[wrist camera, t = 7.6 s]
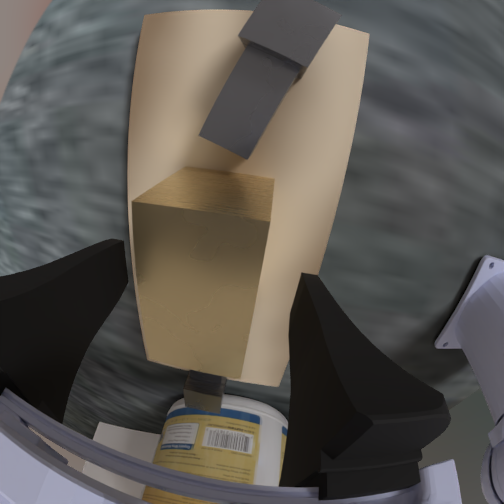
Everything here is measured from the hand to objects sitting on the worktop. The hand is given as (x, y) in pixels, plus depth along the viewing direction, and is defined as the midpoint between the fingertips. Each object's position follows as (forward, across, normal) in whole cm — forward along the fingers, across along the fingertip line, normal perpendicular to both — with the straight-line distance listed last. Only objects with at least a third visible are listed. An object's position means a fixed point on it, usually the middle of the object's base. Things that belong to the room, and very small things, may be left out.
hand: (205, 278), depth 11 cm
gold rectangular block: (+3, 0, 0) cm, 3 cm away
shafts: (+3, -1, 0) cm, 3 cm away
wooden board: (+4, 0, 0) cm, 4 cm away
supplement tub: (+4, -2, +20) cm, 21 cm away
